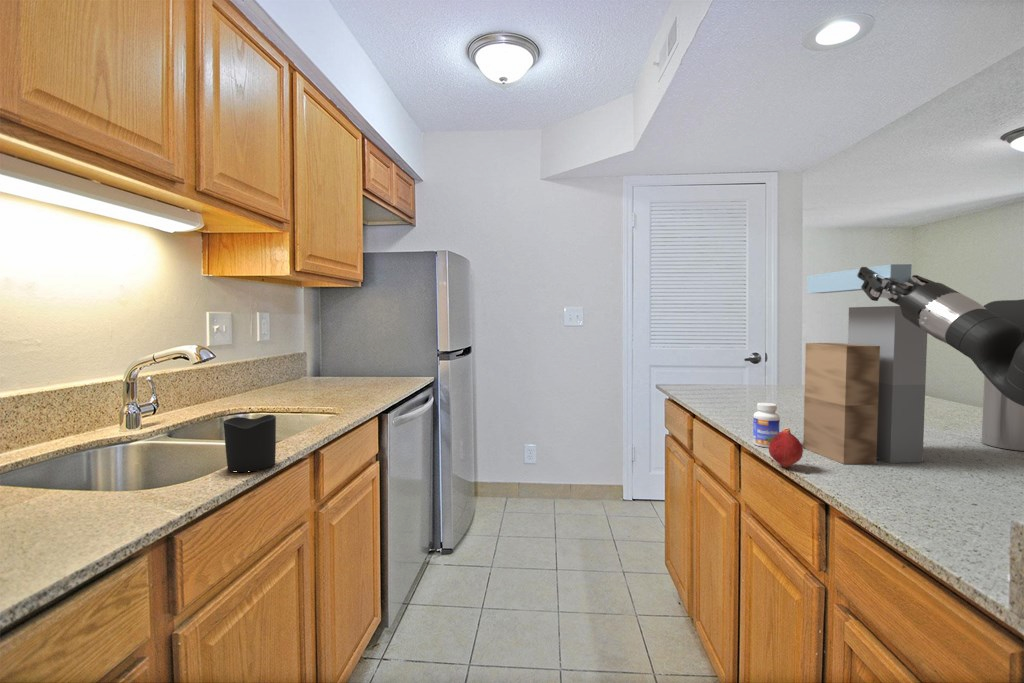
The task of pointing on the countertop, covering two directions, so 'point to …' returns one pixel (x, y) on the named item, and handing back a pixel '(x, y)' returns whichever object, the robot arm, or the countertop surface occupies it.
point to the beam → (854, 278)
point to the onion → (785, 448)
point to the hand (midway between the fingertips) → (871, 271)
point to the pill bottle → (765, 424)
